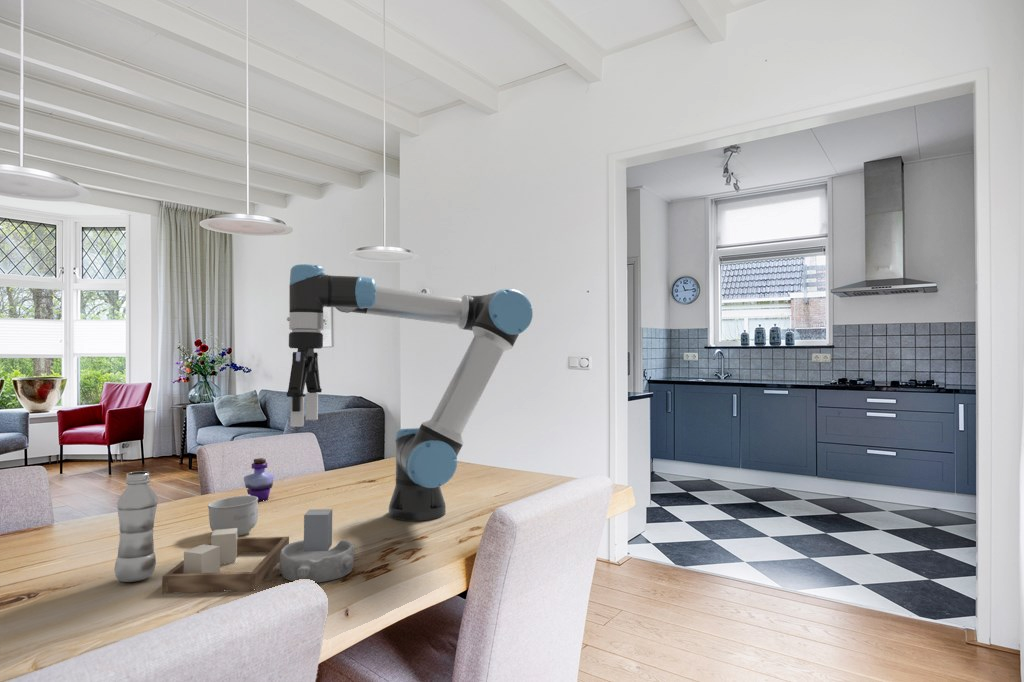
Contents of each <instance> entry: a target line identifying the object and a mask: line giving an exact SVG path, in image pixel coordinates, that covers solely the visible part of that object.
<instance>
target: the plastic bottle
mask: <svg viewBox="0 0 1024 682" xmlns="http://www.w3.org/2000/svg"><path fill="white" fill-rule="evenodd" d="M150 482H151V478H150V472H149V471H143V470H142V471H132V472H127V473H126V479H125V484H126V488H125V489H124V490H123V491H122V493H120V494H121V495H119V497H118V499H117V502H116V509H117V516H118V517H117V518H118V523H119V525H118V527H119V528H118V529H119V542H118V548H117V549H118V550H117V557H116V559H115V562H114V563H115V564H114V569H113V570H114V576H115V578H116V579H117V580H118V582H122V583H132V582H133V583H134V582H138V581H143V580H146V579H148V578H150V577H151V576H152V575H153V574H154V572H155V570H156V566H157V559H156V553H155V544H154V526H155V518H156V512H157V507H158V501H159V499H158V495H157V493H156V492H155V490H154V489H153V488H152V487H151V486H150V484H149V483H150Z"/></svg>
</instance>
